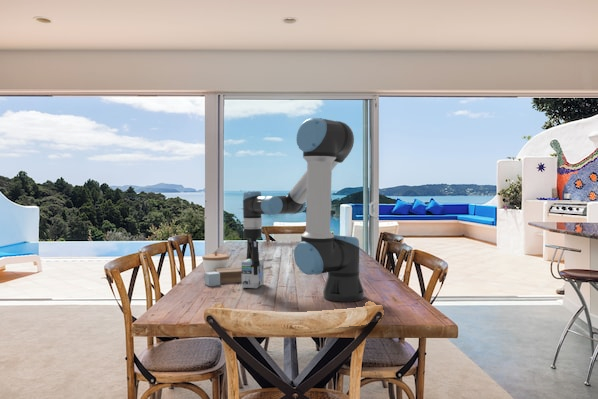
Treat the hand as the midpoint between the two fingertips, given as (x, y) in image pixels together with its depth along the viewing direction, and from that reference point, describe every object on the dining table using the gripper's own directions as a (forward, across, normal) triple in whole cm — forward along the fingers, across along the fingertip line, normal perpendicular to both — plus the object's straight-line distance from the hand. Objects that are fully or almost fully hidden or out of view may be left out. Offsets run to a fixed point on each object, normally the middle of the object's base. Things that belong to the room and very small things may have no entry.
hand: (252, 279), depth 185 cm
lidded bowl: (+3, -30, -13) cm, 33 cm away
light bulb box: (+3, 0, 0) cm, 3 cm away
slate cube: (+3, -8, -16) cm, 18 cm away
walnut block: (+3, -16, -8) cm, 18 cm away
